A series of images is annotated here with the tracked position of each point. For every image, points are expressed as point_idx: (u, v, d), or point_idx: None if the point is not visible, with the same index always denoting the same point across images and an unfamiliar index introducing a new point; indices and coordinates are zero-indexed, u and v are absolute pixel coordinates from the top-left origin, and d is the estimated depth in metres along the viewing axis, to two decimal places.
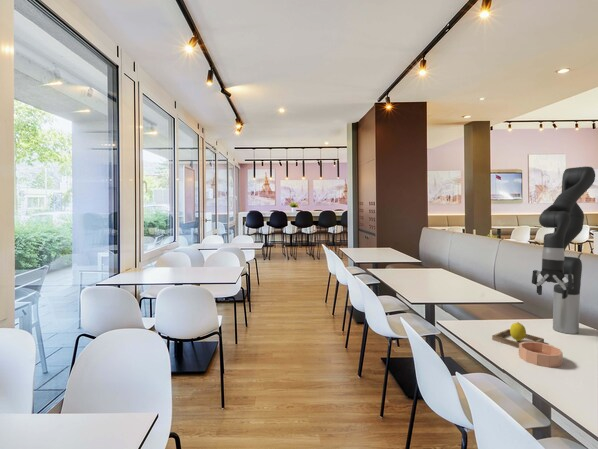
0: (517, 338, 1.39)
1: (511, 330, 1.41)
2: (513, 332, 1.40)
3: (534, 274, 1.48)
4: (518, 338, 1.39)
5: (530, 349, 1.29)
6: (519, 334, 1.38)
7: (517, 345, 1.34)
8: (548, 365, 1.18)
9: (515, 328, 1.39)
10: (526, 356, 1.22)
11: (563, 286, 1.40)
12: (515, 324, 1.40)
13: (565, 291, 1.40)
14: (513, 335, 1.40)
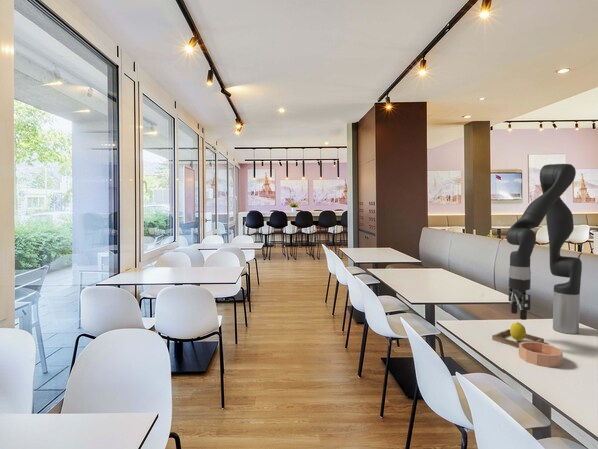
0: (517, 338, 1.39)
1: (511, 330, 1.41)
2: (513, 332, 1.40)
3: None
4: (518, 338, 1.39)
5: (530, 349, 1.29)
6: (519, 334, 1.38)
7: (517, 345, 1.34)
8: (548, 365, 1.18)
9: (515, 328, 1.39)
10: (526, 356, 1.22)
11: None
12: (515, 324, 1.40)
13: None
14: (513, 335, 1.40)
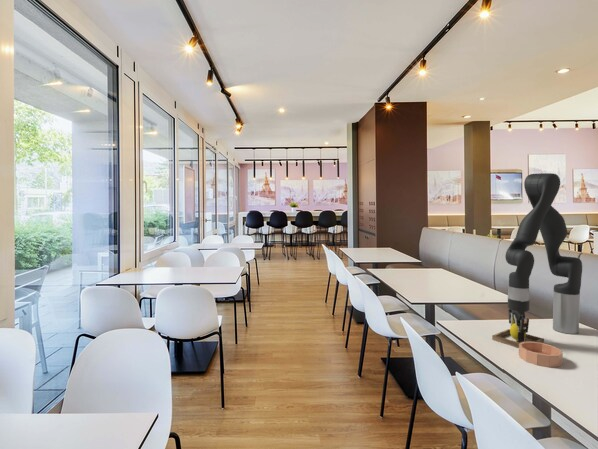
0: (517, 338, 1.39)
1: (511, 330, 1.41)
2: (513, 332, 1.40)
3: None
4: None
5: (530, 349, 1.29)
6: None
7: (517, 345, 1.34)
8: (548, 365, 1.18)
9: (515, 328, 1.39)
10: (526, 356, 1.22)
11: None
12: (515, 324, 1.40)
13: None
14: (513, 335, 1.40)
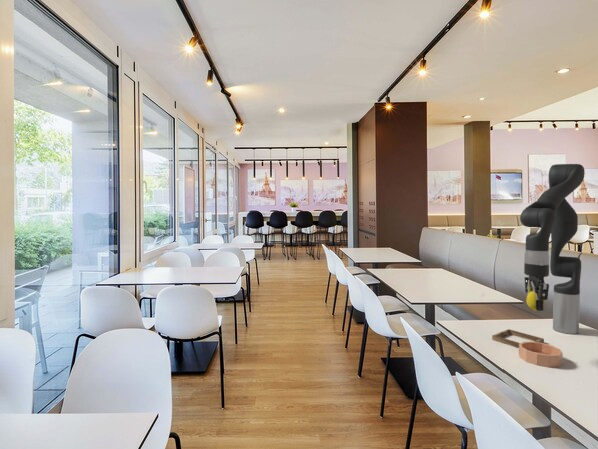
0: (535, 307, 1.24)
1: (528, 299, 1.26)
2: (530, 300, 1.25)
3: None
4: None
5: (530, 349, 1.29)
6: None
7: (517, 345, 1.34)
8: (548, 365, 1.18)
9: (532, 296, 1.25)
10: (526, 356, 1.22)
11: None
12: (532, 292, 1.26)
13: None
14: (530, 304, 1.25)
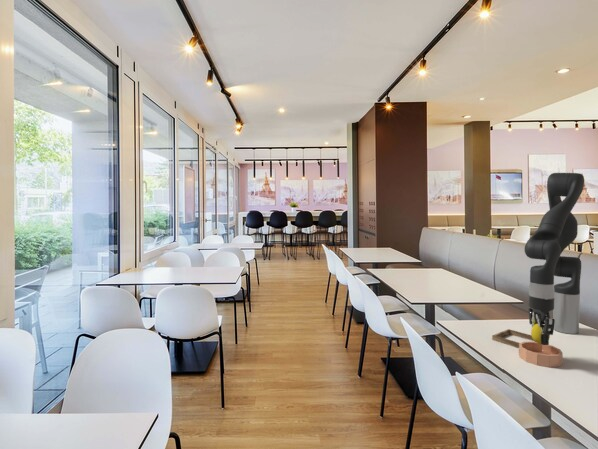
0: (540, 341, 1.22)
1: (533, 332, 1.24)
2: (535, 334, 1.23)
3: None
4: None
5: (530, 349, 1.29)
6: None
7: (517, 345, 1.34)
8: (548, 365, 1.18)
9: (537, 330, 1.22)
10: (526, 356, 1.22)
11: None
12: (537, 325, 1.23)
13: None
14: (535, 338, 1.23)
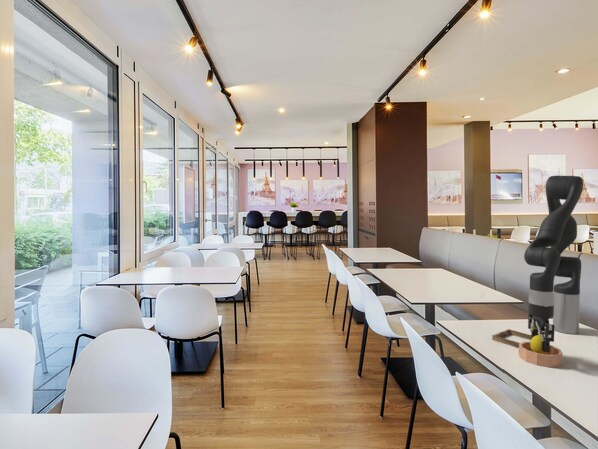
0: (539, 353, 1.22)
1: (532, 344, 1.24)
2: (534, 346, 1.23)
3: None
4: (540, 353, 1.22)
5: (530, 349, 1.29)
6: (541, 348, 1.22)
7: (517, 345, 1.34)
8: (548, 365, 1.18)
9: (536, 341, 1.23)
10: (526, 356, 1.22)
11: None
12: (536, 337, 1.24)
13: None
14: (534, 349, 1.23)
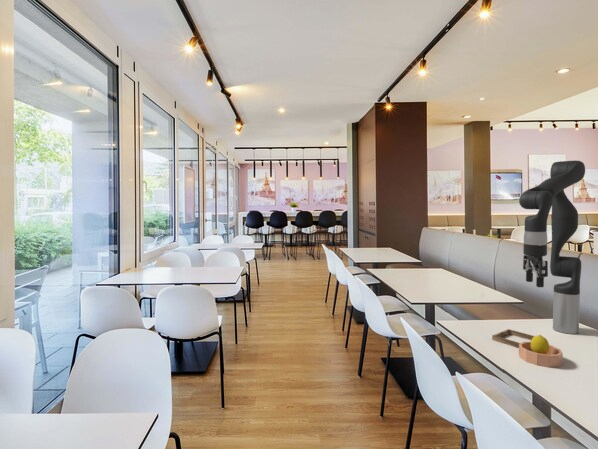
0: (539, 353, 1.22)
1: (532, 344, 1.24)
2: (534, 346, 1.23)
3: None
4: (540, 353, 1.22)
5: (530, 349, 1.29)
6: (541, 349, 1.22)
7: (517, 345, 1.34)
8: (548, 365, 1.18)
9: (537, 342, 1.23)
10: (526, 356, 1.22)
11: None
12: (537, 337, 1.24)
13: None
14: (534, 349, 1.23)
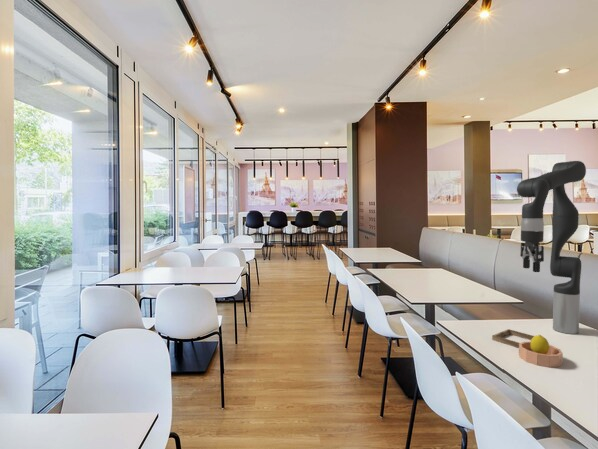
0: (539, 353, 1.22)
1: (532, 344, 1.24)
2: (534, 346, 1.23)
3: None
4: (540, 353, 1.22)
5: (530, 349, 1.29)
6: (541, 348, 1.22)
7: (517, 345, 1.34)
8: (548, 365, 1.18)
9: (537, 342, 1.23)
10: (526, 356, 1.22)
11: None
12: (536, 337, 1.24)
13: None
14: (534, 349, 1.23)
